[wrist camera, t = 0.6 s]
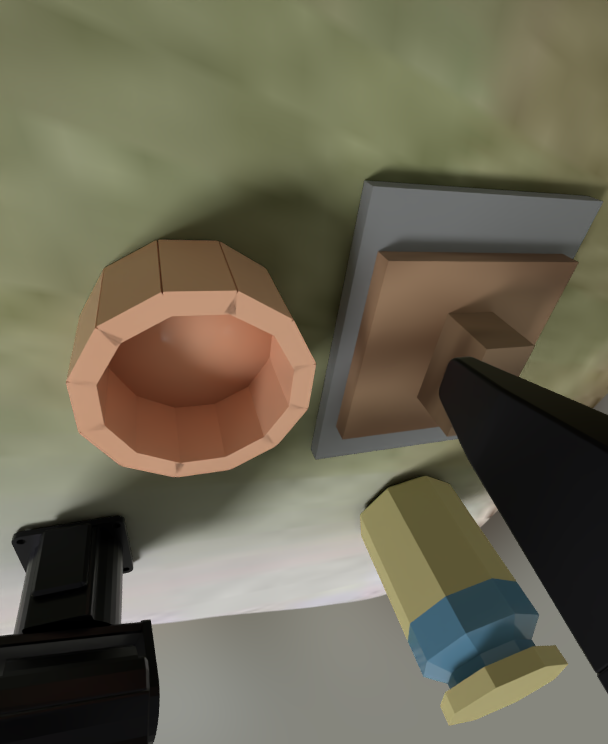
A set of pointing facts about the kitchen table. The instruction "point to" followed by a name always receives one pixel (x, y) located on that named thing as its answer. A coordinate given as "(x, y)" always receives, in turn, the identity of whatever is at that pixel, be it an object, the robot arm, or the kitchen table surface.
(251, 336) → the terracotta bowl
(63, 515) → the kitchen table surface
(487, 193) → the charcoal mat
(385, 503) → the jar
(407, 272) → the walnut cover
